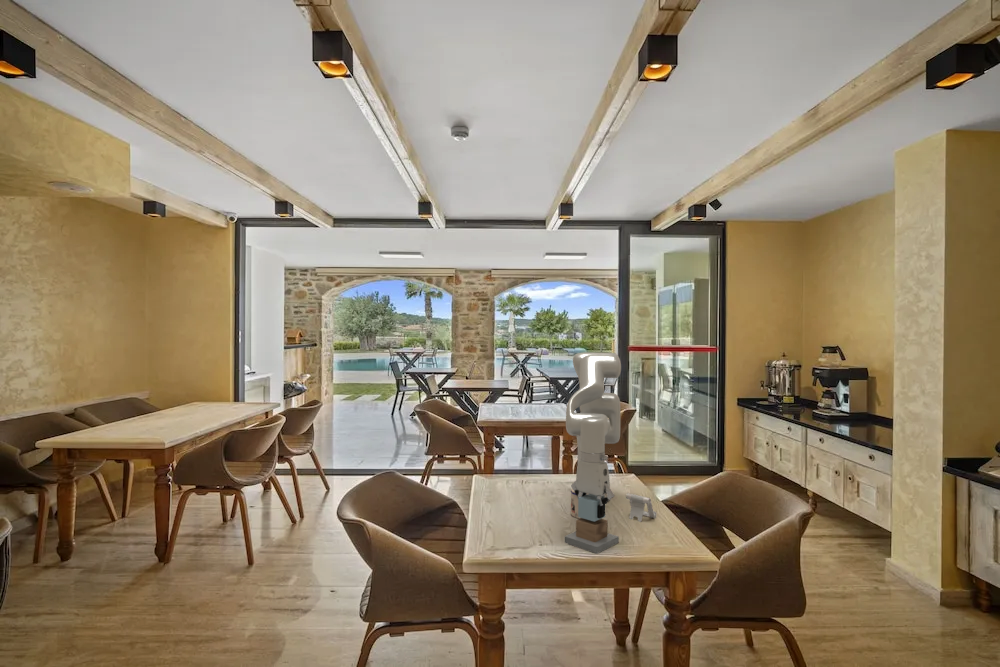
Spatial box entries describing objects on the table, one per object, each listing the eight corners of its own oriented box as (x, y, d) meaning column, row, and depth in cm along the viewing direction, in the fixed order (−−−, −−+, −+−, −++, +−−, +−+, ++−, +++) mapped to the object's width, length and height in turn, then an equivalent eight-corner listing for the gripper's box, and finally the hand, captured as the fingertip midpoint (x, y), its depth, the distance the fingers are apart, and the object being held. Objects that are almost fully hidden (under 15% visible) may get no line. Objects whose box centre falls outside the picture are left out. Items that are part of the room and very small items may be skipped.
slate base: (586, 532, 173) (586, 526, 173) (618, 542, 164) (618, 536, 164) (564, 542, 164) (564, 536, 164) (597, 553, 156) (597, 547, 156)
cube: (589, 512, 168) (589, 493, 168) (605, 516, 164) (605, 497, 164) (578, 516, 164) (578, 497, 164) (594, 521, 160) (594, 501, 160)
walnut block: (588, 530, 169) (588, 514, 169) (607, 536, 164) (607, 520, 164) (575, 536, 164) (576, 520, 164) (594, 542, 159) (594, 525, 159)
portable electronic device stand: (656, 518, 188) (656, 494, 188) (646, 523, 182) (646, 499, 182) (634, 512, 194) (634, 489, 194) (624, 517, 188) (624, 494, 188)
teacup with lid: (571, 510, 195) (571, 478, 195) (596, 512, 193) (596, 480, 193) (569, 521, 183) (569, 487, 183) (595, 523, 181) (595, 489, 182)
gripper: (622, 459, 161) (622, 518, 161) (576, 451, 173) (576, 505, 173) (609, 463, 156) (609, 524, 156) (563, 454, 168) (562, 510, 168)
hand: (591, 514), depth 164 cm, fingers closed on cube, 6 cm apart
